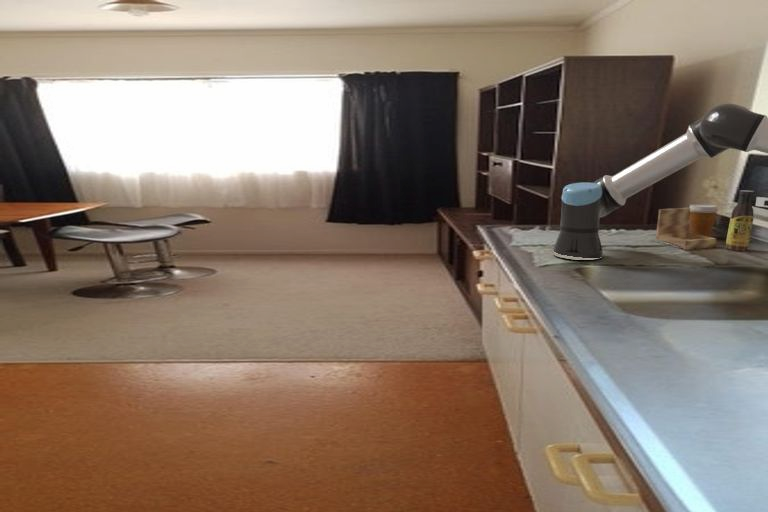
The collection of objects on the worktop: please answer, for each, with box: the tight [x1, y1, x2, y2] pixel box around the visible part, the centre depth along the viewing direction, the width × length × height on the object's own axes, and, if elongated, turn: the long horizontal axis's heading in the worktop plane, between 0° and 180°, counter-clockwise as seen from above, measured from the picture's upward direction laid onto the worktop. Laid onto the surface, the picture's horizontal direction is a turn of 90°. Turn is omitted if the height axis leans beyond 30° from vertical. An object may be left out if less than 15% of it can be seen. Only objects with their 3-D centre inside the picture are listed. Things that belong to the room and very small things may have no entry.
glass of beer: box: [688, 203, 719, 237], centre depth 186 cm, size 10×10×12 cm
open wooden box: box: [655, 207, 717, 250], centre depth 174 cm, size 13×13×12 cm
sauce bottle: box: [725, 189, 755, 252], centre depth 163 cm, size 7×6×20 cm
